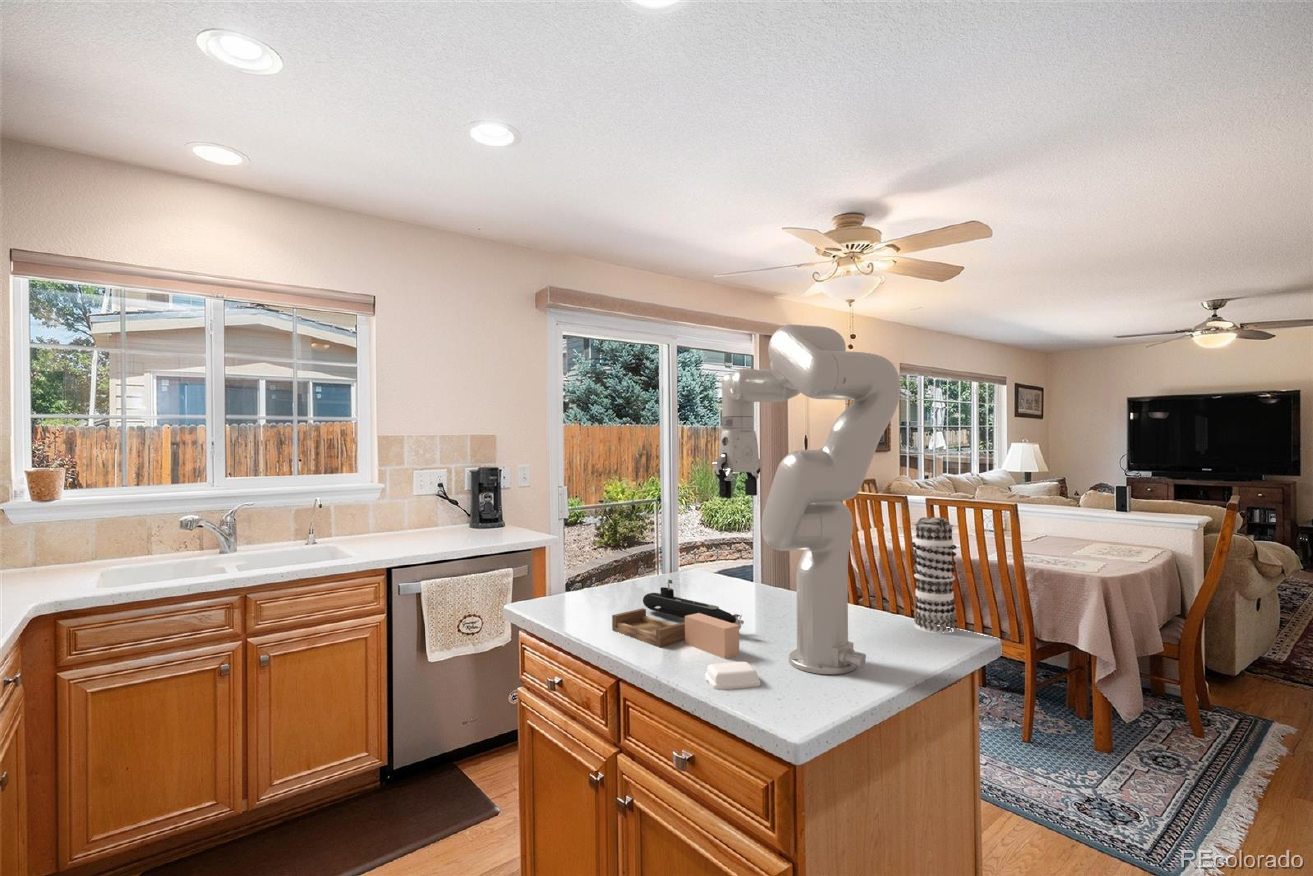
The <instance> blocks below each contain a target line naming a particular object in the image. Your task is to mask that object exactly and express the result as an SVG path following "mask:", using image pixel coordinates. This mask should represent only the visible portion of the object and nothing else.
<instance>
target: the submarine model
mask: <svg viewBox="0 0 1313 876" xmlns="http://www.w3.org/2000/svg"><path fill="white" fill-rule="evenodd" d="M666 584H667V587H665V586H664V587H660V592H649V593H646V594H645V595H644V596H643V597H642V602H643V605H644V606H645V608H647V609H649V610H650V611H654V612H659V613H661V614H664V615H665V614H666V615H669V616H674V617H678V618H681V619H685V616H687V615H692V614H696V613H701V614H704V615H707V616H711V617H714V618H717V619H720V620H724V621H727V622H730V623H733V624H736V625H739V630H741V628H742V625H744V623H745V620H741V619H742V614H737V613H736V614H731V613H729V612H728V611H726V610H723V609H720V606H719V605H718V606H717V605H714V604H709V603H704V602H700V601H695V600H692V599H686V598H682V597H677V596H674V595H675V594H674V592H675V591H674V589H673V588H672V587H670V584H671V585H672V584H673V580H672V579H668V580H667V582H666Z"/></svg>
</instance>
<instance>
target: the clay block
mask: <svg viewBox="0 0 1313 876" xmlns="http://www.w3.org/2000/svg"><path fill="white" fill-rule="evenodd" d="M684 622H685V640H684V644H685V645H687V646H690V647H693V648H694V649H697V650H700V651H702V652H706V653H708V654H711V655H713V656H716V657H719V658H720V659H723V660H726V659H729V658H730V659H731V658H733V657H737V656H739V655H740V629H739V625H736V624H733V623H730V622H727V621H724V620H720V619H717V618H714V617H711V616H707V615H704V614H701V613H696V614H692V615H687V616H685V618H684Z"/></svg>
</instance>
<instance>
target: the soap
mask: <svg viewBox="0 0 1313 876" xmlns="http://www.w3.org/2000/svg"><path fill="white" fill-rule="evenodd" d="M704 679H705V681H706V682H708V685H709V686H710V687H711V688H712V689H714V690H729V689H731V690H732V689H742V688H750V687H759V686H761V680H760V679H759V674H758V672H757V670H756V669H755V668H754V667H753V666H752V665H751V663H749V662H747V661H734V662H733V661H732V662H731V661H730V662H724V663H723V662H719V663H712V664H709V665H707V668H706V672H705V673H704Z"/></svg>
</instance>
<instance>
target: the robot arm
mask: <svg viewBox="0 0 1313 876" xmlns="http://www.w3.org/2000/svg"><path fill="white" fill-rule="evenodd" d="M846 349H847V346H846V341H845V339H844V338H843V336H842V334H840V333H839V332H838V331H837V330H835V329H833V328H831V327H827V326H819V325H804V324H803V325H802V324H786V325H783V326H781V327H779V328H777V329H776V331H775V332H773V334H772V336H771V337H770V339H769V342H768V349H767V352H768V358H769V361H770V363H769V365H770V366H769V367H770V369H766V368H765V369H764V368H739V369H737V370H735V371H734V372H731V373H727V374H724V375H723V376H722V379H721V433H720V441H719V451H718V453H719V454H718V458H716V459H715V460H713V462H712V467H713V469H714V473H715V475H716V477H717V478H716V479H717V481H718V484H719V485H718V489H719V494H718V495H719V497H720V498H722V499H723V498H724V499H731V498H732V480H730V479H731V477H732V476H733V474H734V473H744V475H745V477H746V478H745V479H744V486H745V487H744V489H745V490H744V491H745V492H744V494H745V496H752V497H755V496H757V495H758V479H759V476H760V475H759V474H760V473H761V467H762V464H763V461H762V460H761V458H759V444H758V443H759V442H758V438H757V437H758V436H757V433H756V430H755V429H754V428H755V420H754V419H755V418H754V416H755V412H754V411H755V410H754V404H755V403H781V402H785V401H787V400H790V399H792V398H795V397H797V396H798V395H800V394H802V395H804V396H805V397H808V398H811V399H814V400H815V399H816V400H838V401H839V400H840V401H841V400H843V401H844V400H845V401H850V400H852V403H851V404H850V405H849V406H848V407H847V408H846V409H844V410H843V411H842V413H840V414H839V416H838V417H837V418H836V420H835V421H834V422H833V424H832V425H831V427H830V429H829V433H828V436H827V439H826V441H825V443H824V445H823V446H822V447H821V448H819V449H800V450H794V451H792V452H790V453H788V454H787V455H786V456H784V457H783V458H782V460H781V461H780V463H779V464H778V466H777V469H776V472H775V474H774V476H773V477H774V478H773V480H772V484H771V487H770V490H769V494H768V497H767V499H766V501H765V506H764V509H763V512H762V518H761V534H762V538H763V540H764V542H765V543H766V544H767V546H768V547H769V548H771V549H773V550H776V551H779V552H780V551H781V552H788V551H789V552H792V551H803V552H802V554H801V556H800V558H799V561H798V562H797V563H798V564H797V567H796V580H795V581H796V649H794V650H792V651H791V652H790V653H789V654H788V663H789V664H790V665H791V666H792V667H795V669H798V670H801V671H804V672H807V673H812V674H818V675H827V676H828V675H830V676H831V675H842V674H843V675H844V674H848V673H851V672H852V671H855V670H856V669H857V667H858V668H864V667H865V665H866V663H867V662H866V659H867V655H866V653H864V652H859V651H855V649H854V642H852V641H850V640H849V622H848V621H849V606H848V605H849V602H848V601H849V599H848V598H849V597H848V596H849V595H848V594H849V593H848V591H849V589H848V587H849V586H848V585H849V582H848V581H849V573H848V572H849V556H850V555H849V554H850V553H849V552H850V549H851V548H850V546H851V541H852V536H853V530H854V520H853V515H852V512H851V510H850V509H849V507H848V506H847V505H846V503H844V502H845V501H849V500H851V499H853V498H855V497H856V496H857V494H859V492H860V489H861V487H862V485H863V483H864V481H865V478H866V476H867V473H868V471H869V469H870V466H871V464H872V461H873V459H874V456H875V453H876V450H877V448H878V445H879V442H880V440H881V438H882V437H883V434H885V430H886V429H887V427H888V425H889V424H890V422H891V421H892V418H893V417H894V414H895V413H896V410H897V408H898V405H899V402H900V397H901V380H900V376H899V373H898V371H897V368H896V366H895V365H894V364H893V363H892V362H891V361H890V360H889V359H888V358H886V357H884V356H881V355H879V354H875V353H870V352H863V351H861V352H860V351H847V350H846ZM843 501H844V502H843Z"/></svg>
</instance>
